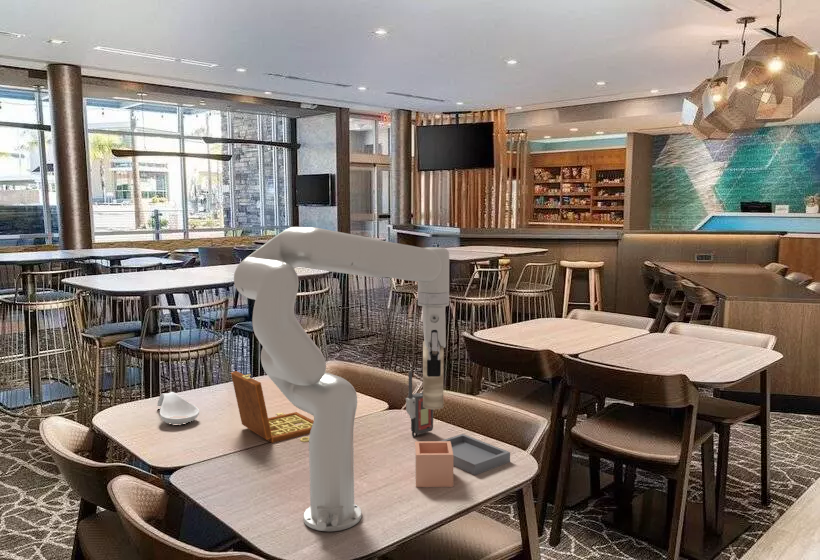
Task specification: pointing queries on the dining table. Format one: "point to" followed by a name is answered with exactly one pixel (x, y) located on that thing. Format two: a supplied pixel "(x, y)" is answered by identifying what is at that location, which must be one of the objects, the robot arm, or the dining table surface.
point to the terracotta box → (433, 464)
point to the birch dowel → (432, 383)
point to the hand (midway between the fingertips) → (433, 372)
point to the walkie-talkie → (418, 412)
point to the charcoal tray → (476, 454)
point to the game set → (257, 417)
